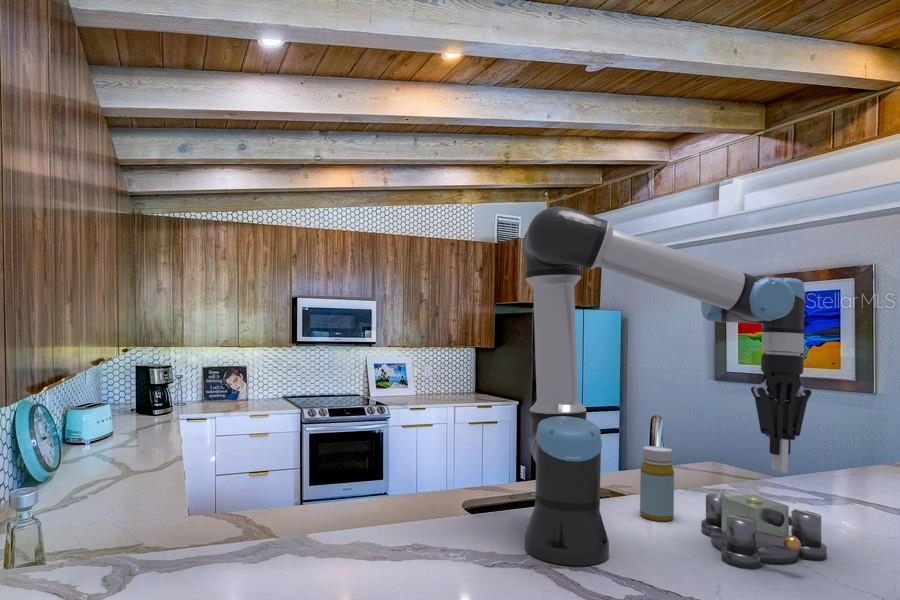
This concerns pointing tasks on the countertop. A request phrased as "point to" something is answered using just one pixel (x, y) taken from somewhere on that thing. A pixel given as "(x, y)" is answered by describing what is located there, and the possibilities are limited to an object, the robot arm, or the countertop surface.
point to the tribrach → (768, 520)
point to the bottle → (657, 484)
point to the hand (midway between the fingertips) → (779, 470)
